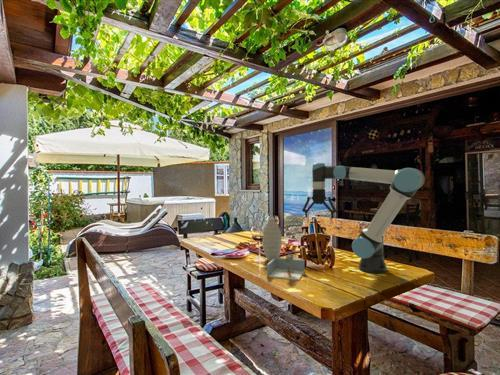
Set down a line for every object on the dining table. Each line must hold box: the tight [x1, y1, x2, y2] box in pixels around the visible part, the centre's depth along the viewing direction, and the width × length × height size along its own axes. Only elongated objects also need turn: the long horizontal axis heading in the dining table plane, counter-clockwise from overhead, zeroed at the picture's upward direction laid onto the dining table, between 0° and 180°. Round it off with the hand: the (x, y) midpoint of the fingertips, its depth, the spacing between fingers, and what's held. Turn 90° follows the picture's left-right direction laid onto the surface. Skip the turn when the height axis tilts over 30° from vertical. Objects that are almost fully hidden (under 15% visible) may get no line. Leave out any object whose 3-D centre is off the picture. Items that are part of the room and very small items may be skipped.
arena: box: [266, 257, 305, 281], centre depth 169 cm, size 18×15×7 cm
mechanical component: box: [285, 253, 294, 274], centre depth 167 cm, size 3×10×10 cm, turn 160°
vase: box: [262, 217, 283, 262], centre depth 198 cm, size 13×13×28 cm
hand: (319, 223), depth 180 cm, fingers open, 13 cm apart
